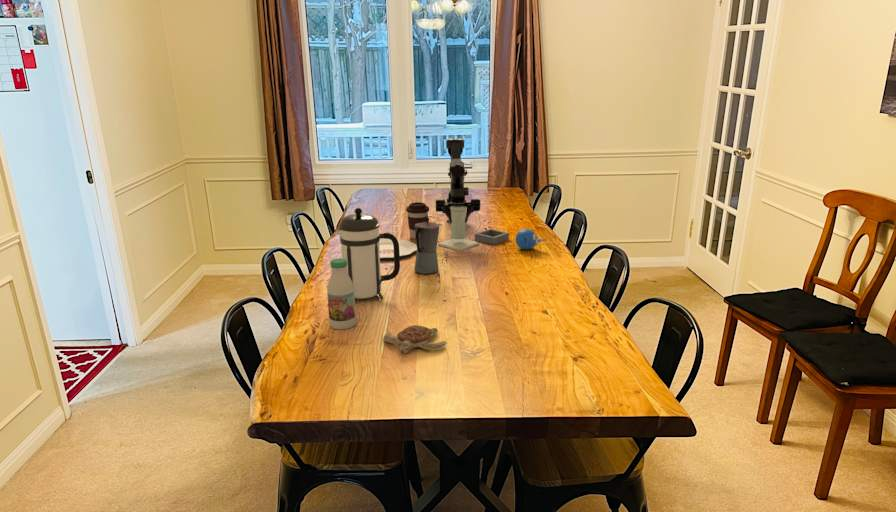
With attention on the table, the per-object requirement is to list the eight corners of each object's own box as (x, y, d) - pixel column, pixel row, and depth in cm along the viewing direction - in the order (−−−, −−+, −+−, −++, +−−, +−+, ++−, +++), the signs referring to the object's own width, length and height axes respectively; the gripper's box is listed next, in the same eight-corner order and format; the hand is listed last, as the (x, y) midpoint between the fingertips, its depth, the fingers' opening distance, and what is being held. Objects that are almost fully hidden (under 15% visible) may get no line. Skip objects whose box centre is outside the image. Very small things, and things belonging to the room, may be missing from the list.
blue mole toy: (544, 254, 231) (544, 234, 229) (514, 252, 233) (514, 232, 231) (545, 245, 242) (546, 226, 240) (516, 244, 245) (517, 224, 242)
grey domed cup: (450, 235, 247) (450, 205, 242) (465, 234, 247) (465, 205, 242) (450, 241, 238) (450, 210, 234) (466, 241, 238) (466, 210, 234)
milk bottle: (331, 319, 174) (326, 256, 168) (357, 318, 175) (353, 255, 168) (328, 331, 167) (323, 265, 160) (355, 329, 167) (351, 264, 161)
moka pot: (445, 266, 219) (445, 214, 213) (431, 279, 205) (430, 225, 199) (422, 263, 222) (421, 212, 216) (406, 276, 208) (404, 223, 202)
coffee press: (369, 310, 181) (363, 216, 171) (330, 299, 189) (323, 210, 179) (402, 292, 195) (398, 204, 185) (365, 283, 203) (360, 199, 193)
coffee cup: (430, 234, 260) (430, 201, 255) (428, 240, 251) (427, 206, 246) (409, 233, 261) (408, 201, 256) (405, 240, 252) (404, 206, 247)
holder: (474, 240, 251) (474, 233, 250) (490, 235, 258) (490, 228, 257) (493, 244, 244) (493, 238, 243) (508, 239, 251) (508, 232, 250)
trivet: (438, 245, 244) (438, 243, 244) (457, 239, 252) (457, 236, 252) (459, 251, 236) (459, 248, 236) (478, 244, 245) (478, 242, 244)
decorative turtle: (371, 352, 155) (369, 335, 154) (397, 327, 170) (396, 311, 168) (433, 363, 149) (433, 345, 147) (455, 336, 164) (455, 319, 162)
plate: (428, 247, 242) (427, 243, 242) (398, 265, 221) (397, 260, 220) (376, 240, 253) (376, 236, 252) (343, 257, 231) (343, 252, 230)
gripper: (435, 180, 239) (435, 213, 233) (480, 180, 240) (482, 212, 233) (435, 195, 249) (435, 226, 243) (478, 194, 250) (480, 226, 243)
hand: (458, 222), depth 240 cm, fingers closed on grey domed cup, 6 cm apart
